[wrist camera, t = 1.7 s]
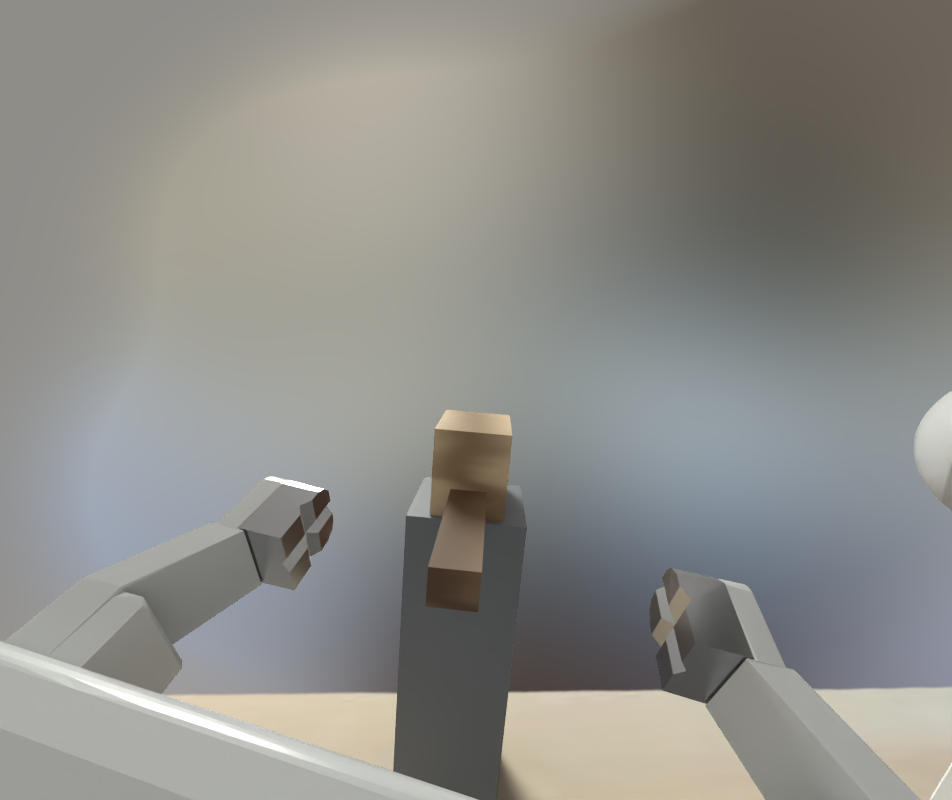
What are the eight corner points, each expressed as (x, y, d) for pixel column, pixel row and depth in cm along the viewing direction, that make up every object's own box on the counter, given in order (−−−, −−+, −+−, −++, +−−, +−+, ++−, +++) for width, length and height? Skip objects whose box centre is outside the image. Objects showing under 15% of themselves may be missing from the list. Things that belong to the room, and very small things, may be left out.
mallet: (502, 486, 31) (509, 415, 30) (507, 615, 17) (520, 490, 16) (442, 480, 32) (446, 409, 31) (397, 603, 17) (402, 478, 16)
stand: (493, 742, 36) (520, 486, 32) (492, 834, 30) (526, 527, 25) (410, 732, 37) (424, 476, 32) (391, 821, 30) (406, 515, 25)
